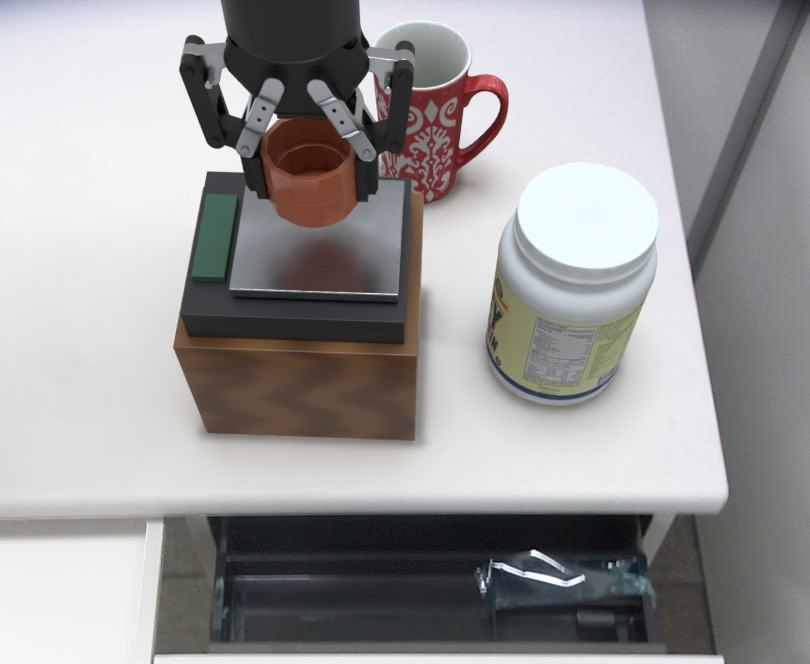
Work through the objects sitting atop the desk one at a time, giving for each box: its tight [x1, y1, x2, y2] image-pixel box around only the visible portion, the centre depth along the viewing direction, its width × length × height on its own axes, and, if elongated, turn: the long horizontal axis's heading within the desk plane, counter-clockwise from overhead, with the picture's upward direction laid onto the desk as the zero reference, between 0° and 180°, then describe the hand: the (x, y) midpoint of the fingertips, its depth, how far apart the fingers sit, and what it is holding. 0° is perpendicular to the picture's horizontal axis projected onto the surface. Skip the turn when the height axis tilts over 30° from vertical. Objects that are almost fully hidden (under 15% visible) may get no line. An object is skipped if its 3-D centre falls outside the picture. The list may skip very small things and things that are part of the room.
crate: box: [172, 186, 425, 441], centre depth 70 cm, size 18×16×12 cm
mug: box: [370, 19, 510, 203], centre depth 78 cm, size 13×9×14 cm
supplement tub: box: [484, 161, 660, 406], centre depth 68 cm, size 12×12×17 cm
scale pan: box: [229, 180, 404, 302], centre depth 62 cm, size 12×11×1 cm
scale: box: [180, 170, 412, 344], centre depth 63 cm, size 16×14×3 cm
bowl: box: [260, 117, 359, 228], centre depth 56 cm, size 6×6×4 cm
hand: (314, 191), depth 58 cm, fingers closed on bowl, 6 cm apart
